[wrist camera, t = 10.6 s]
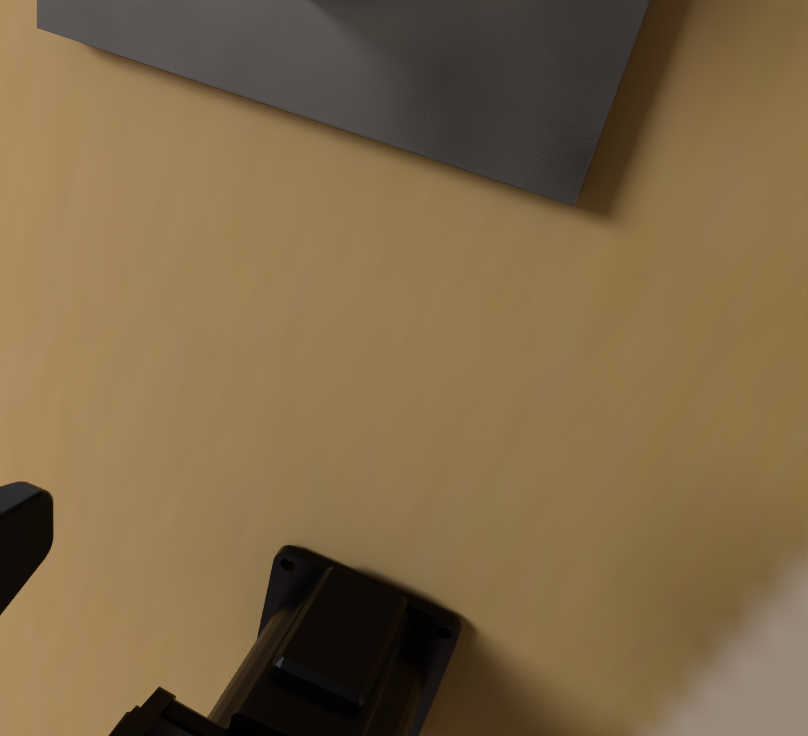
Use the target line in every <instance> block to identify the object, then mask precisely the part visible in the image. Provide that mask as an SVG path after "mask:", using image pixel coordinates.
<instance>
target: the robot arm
mask: <svg viewBox="0 0 808 736" xmlns="http://www.w3.org/2000/svg"><path fill="white" fill-rule="evenodd" d="M52 542H53V497H52V496H51V494H50V492H48V491H47V490H44V489H42V488H40V487H37V486H35V485H33V484H30V483H27V482H22V481H21V482H15V483H11V484H8V485H4V486H1V487H0V615H1V614H2V613H3V611H4V610H5V609H6V607H7V606H8V605H9V604H10V602H11V601H12V600H13V599H14V597H15V596H16V595H17V593H18V592H19V591H20V590H21V588H22V587H23V586H24V584H25V583H26V582H27V581H28V579H29V578H30V577H31V576H32V574H33V573H34V572H35V570H36V569H37V568H38V567H39V565H40V564H41V563H42V562H43V560H44V559H45V558H46V556H47V554H48V553H49V551H50V549H51V546H52ZM287 559H289V560H290V561H292V562H293V563H291V562H289V561H288V560H287ZM441 626H443V627H446V628H447V629H449V630H447V629H444V628H442V627H441ZM461 626H462V625H461V623H460V620H459V619H458V618H457V617H456V616H454V615H453V614H451V613H449V612H447V611H444V610H442V609H440V608H437V607H435V606H433V605H430V604H428V603H426V602H423V601H421V600H419V599H416V598H414V597H412V596H409V595H407V594H405V593H402V592H400V591H398V590H395V589H393V588H391V587H388V586H386V585H384V584H381V583H379V582H377V581H374V580H372V579H370V578H367V577H365V576H363V575H360V574H358V573H356V572H353V571H351V570H349V569H346V568H344V567H342V566H339V565H337V564H335V563H332V562H330V561H328V560H325V559H323V558H321V557H318V556H316V555H314V554H311V553H309V552H307V551H304V550H302V549H300V548H297V547H295V546H291V545H286V546H283V547H282V548H281V549H280V550H279V552H278V553H277V554H276V556H275V558H274V561H273V565H272V570H271V575H270V580H269V584H268V589H267V594H266V599H265V604H264V608H263V613H262V618H261V623H260V627H259V632H258V637H257V641H256V642H255V644H254V645H253V647H252V648H251V650H250V651H249V653H248V655H247V656H246V658H245V659H244V661H243V662H242V664H241V666H240V667H239V669H238V670H237V672H236V673H235V675H234V676H233V678H232V680H231V681H230V683H229V684H228V686H227V687H226V689H225V690H224V692H223V694H222V695H221V697H220V698H219V700H218V701H217V703H216V705H215V706H214V708H213V709H212V711H211V712H210V714H209V715H208V717H207V718H206V717H205V716H203V715H201V714H199V713H198V712H196V711H194V710H192V709H191V708H189V707H187V706H185V705H184V704H182V703H180V702H178V701H177V700H175V698H176V696H175V695H173V694H172V693H170V692H168V691H166V690H165V689H163V688H161V687H159V688H157V690H156V691H155V692H154V693H153V694H152V695H151V696H150V697H149V699H148V700H147V701H146V702H145V703H144V704H143V705H142V706H141V708H140V707H139V706H136V707H134V709H133V710H132V711H131V712H126V714H125V715H124V716H123V717H122V719H121V720H120V721H119V723H118V724H117V725H116V727H115V728H114V729H113V731H112V732H111V733H110V735H109V736H419V733H420V731H421V728H422V726H423V723H424V721H425V718H426V716H427V714H428V711H429V709H430V706H431V704H432V701H433V699H434V697H435V694H436V692H437V689H438V687H439V684H440V682H441V679H442V677H443V675H444V672H445V670H446V667H447V665H448V662H449V660H450V657H451V655H452V653H453V650H454V648H455V645H456V643H457V640H458V638H459V635H460V632H461Z"/></svg>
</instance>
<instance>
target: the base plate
mask: <svg viewBox="0 0 808 736" xmlns="http://www.w3.org/2000/svg"><path fill="white" fill-rule="evenodd" d="M650 1H651V0H37V28H39V29H42V30H45V31H48V32H51V33H54V34H57V35H60V36H63V37H66V38H69V39H72V40H75V41H78V42H81V43H84V44H87V45H90V46H93V47H96V48H99V49H102V50H105V51H108V52H111V53H114V54H117V55H120V56H123V57H126V58H129V59H132V60H135V61H138V62H141V63H144V64H147V65H150V66H154V67H157V68H160V69H163V70H166V71H169V72H172V73H175V74H178V75H181V76H184V77H187V78H190V79H193V80H196V81H199V82H202V83H205V84H208V85H211V86H214V87H217V88H220V89H223V90H226V91H229V92H232V93H235V94H238V95H241V96H244V97H247V98H250V99H253V100H256V101H259V102H262V103H265V104H268V105H271V106H274V107H277V108H280V109H283V110H286V111H289V112H292V113H295V114H298V115H301V116H304V117H307V118H310V119H313V120H316V121H319V122H322V123H325V124H328V125H332V126H335V127H338V128H341V129H344V130H347V131H350V132H353V133H356V134H359V135H362V136H365V137H368V138H371V139H374V140H377V141H380V142H383V143H386V144H389V145H392V146H395V147H398V148H401V149H404V150H407V151H410V152H413V153H416V154H419V155H422V156H425V157H428V158H431V159H434V160H437V161H440V162H443V163H446V164H449V165H452V166H455V167H458V168H461V169H464V170H467V171H470V172H473V173H476V174H479V175H482V176H485V177H488V178H491V179H494V180H497V181H500V182H503V183H506V184H510V185H513V186H516V187H519V188H522V189H525V190H528V191H531V192H534V193H537V194H540V195H543V196H546V197H549V198H552V199H555V200H558V201H561V202H564V203H567V204H570V205H573V206H575V203H576V201H577V199H578V197H579V194H580V192H581V189H582V186H583V184H584V181H585V178H586V175H587V173H588V170H589V167H590V165H591V162H592V159H593V156H594V154H595V151H596V148H597V145H598V143H599V140H600V137H601V135H602V132H603V129H604V126H605V124H606V121H607V118H608V116H609V113H610V110H611V107H612V105H613V102H614V99H615V97H616V94H617V91H618V88H619V86H620V83H621V80H622V77H623V75H624V72H625V69H626V67H627V64H628V61H629V58H630V56H631V53H632V50H633V48H634V45H635V42H636V39H637V37H638V34H639V31H640V29H641V26H642V23H643V20H644V18H645V15H646V12H647V10H648V7H649V4H650Z"/></svg>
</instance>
